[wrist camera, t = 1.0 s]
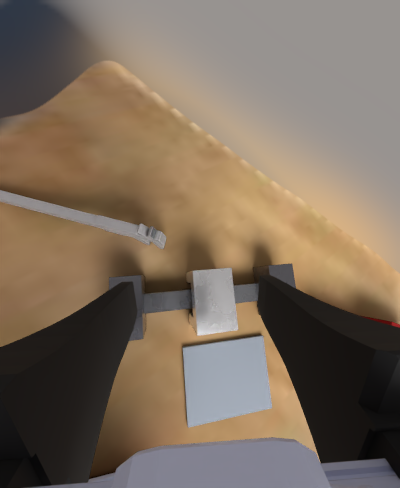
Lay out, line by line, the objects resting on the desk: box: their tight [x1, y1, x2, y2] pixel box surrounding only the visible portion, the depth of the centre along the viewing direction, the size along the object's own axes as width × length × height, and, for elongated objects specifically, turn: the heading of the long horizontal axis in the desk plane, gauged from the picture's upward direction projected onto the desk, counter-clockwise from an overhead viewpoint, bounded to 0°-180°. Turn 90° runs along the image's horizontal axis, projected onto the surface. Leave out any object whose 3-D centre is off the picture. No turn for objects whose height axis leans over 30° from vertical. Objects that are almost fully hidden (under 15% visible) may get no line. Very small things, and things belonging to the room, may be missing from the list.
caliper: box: [0, 190, 166, 249], centre depth 21 cm, size 20×1×6 cm, turn 75°
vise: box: [109, 264, 296, 341], centre depth 23 cm, size 6×20×4 cm, turn 94°
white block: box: [186, 268, 238, 336], centre depth 22 cm, size 6×4×6 cm, turn 4°
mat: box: [183, 335, 272, 427], centre depth 23 cm, size 8×10×1 cm
